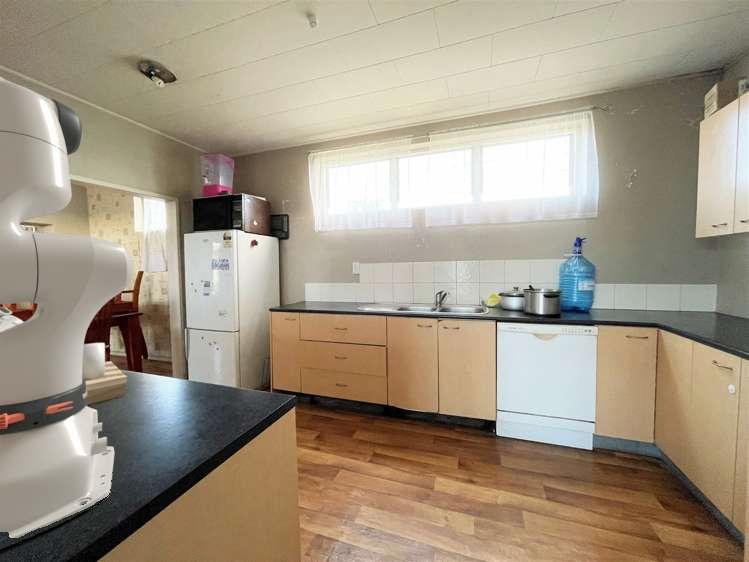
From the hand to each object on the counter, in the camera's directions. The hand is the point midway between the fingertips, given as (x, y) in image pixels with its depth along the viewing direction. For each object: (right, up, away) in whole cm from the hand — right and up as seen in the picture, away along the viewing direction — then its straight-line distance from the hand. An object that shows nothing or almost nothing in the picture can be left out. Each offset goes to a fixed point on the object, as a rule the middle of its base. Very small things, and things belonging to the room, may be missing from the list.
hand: (33, 358), depth 75 cm
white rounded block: (+10, -6, +5) cm, 13 cm away
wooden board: (+6, -11, +7) cm, 15 cm away
